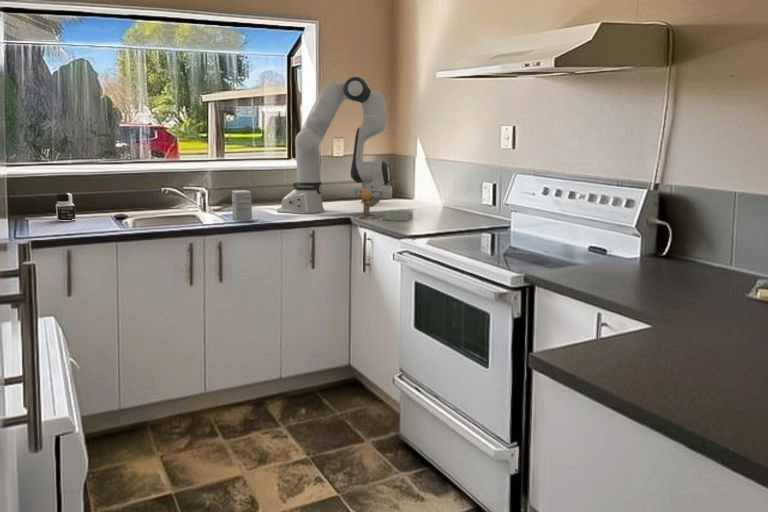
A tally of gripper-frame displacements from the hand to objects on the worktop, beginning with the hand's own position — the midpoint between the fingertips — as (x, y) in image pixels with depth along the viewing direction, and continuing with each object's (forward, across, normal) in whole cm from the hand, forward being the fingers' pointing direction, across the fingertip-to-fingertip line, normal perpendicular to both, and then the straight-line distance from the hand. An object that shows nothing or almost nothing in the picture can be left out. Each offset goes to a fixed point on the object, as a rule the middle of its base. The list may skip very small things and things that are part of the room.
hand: (366, 194), depth 333 cm
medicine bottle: (+42, -124, +11) cm, 131 cm away
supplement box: (+18, -52, +11) cm, 56 cm away
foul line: (0, +8, +10) cm, 13 cm away
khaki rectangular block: (-49, -11, +11) cm, 52 cm away
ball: (-1, 0, +2) cm, 3 cm away
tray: (0, +15, +10) cm, 18 cm away
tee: (-1, 0, +10) cm, 11 cm away
